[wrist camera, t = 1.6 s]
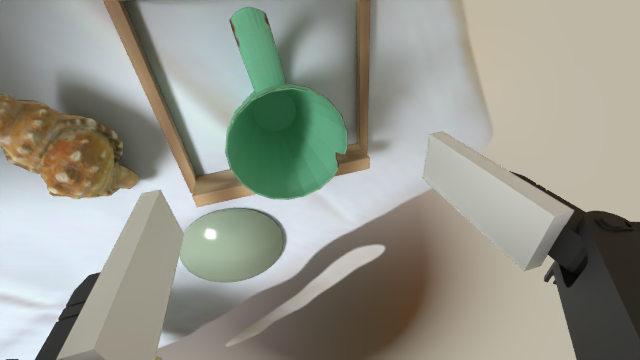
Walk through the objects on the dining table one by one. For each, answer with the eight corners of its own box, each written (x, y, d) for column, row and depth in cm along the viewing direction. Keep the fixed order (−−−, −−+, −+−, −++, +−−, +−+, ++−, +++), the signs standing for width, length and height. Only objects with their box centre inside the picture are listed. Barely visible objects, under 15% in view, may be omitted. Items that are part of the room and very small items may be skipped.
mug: (325, 136, 32) (355, 178, 24) (248, 161, 32) (253, 214, 23) (292, -7, 24) (322, -14, 16) (185, 22, 23) (159, 31, 15)
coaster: (200, 289, 41) (199, 292, 40) (161, 223, 33) (160, 226, 32) (288, 264, 43) (289, 267, 43) (273, 197, 35) (273, 200, 35)
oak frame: (192, 188, 31) (187, 209, 28) (98, -22, 20) (72, -27, 17) (364, 152, 35) (377, 166, 32) (366, -42, 24) (387, -50, 21)
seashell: (43, 151, 28) (-103, 143, 18) (98, 95, 28) (-18, 56, 18) (113, 211, 28) (11, 236, 18) (166, 157, 28) (92, 152, 18)
